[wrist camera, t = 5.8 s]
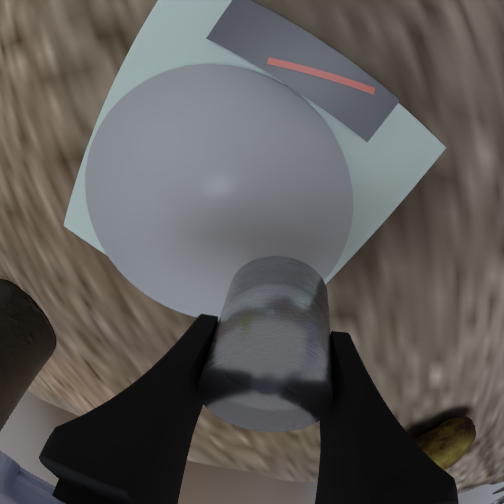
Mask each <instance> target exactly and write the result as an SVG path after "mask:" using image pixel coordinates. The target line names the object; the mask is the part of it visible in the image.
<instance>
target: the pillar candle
mask: <svg viewBox="0 0 504 504" xmlns="http://www.w3.org/2000/svg"><path fill="white" fill-rule="evenodd" d="M55 341H56V340H55V336H54V332H53V330H52V327H51V326H50V324H49V322H48V321H47V319H46V318H45V316H44V314H43V313H42V312H41V311H40V310H39V309H38V307H37V306H36V304H35V303H34V302H33V301H32V300H31V298H30V297H29V296H28V295H27V294H26V293H25V292H23V291H22V290H21V289H19V288H18V287H16V286H15V285H13V284H11V283H10V282H7V281H5V280H0V431H1V429H2V428H3V426H4V425H5V423H6V421H7V420H8V418H9V416H10V415H11V413H12V412H13V410H14V409H15V407H16V406H17V404H18V402H19V401H20V399H21V398H22V396H23V395H24V393H25V392H26V390H27V389H28V387H29V386H30V384H31V383H32V381H33V380H34V378H35V377H36V376H37V374H38V373H39V371H40V370H41V369H42V367H43V366H44V364H45V363H46V362H47V360H48V359H49V358H50V357H51V355H52V354H53V352H54V349H55V344H56V342H55Z"/></svg>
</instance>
